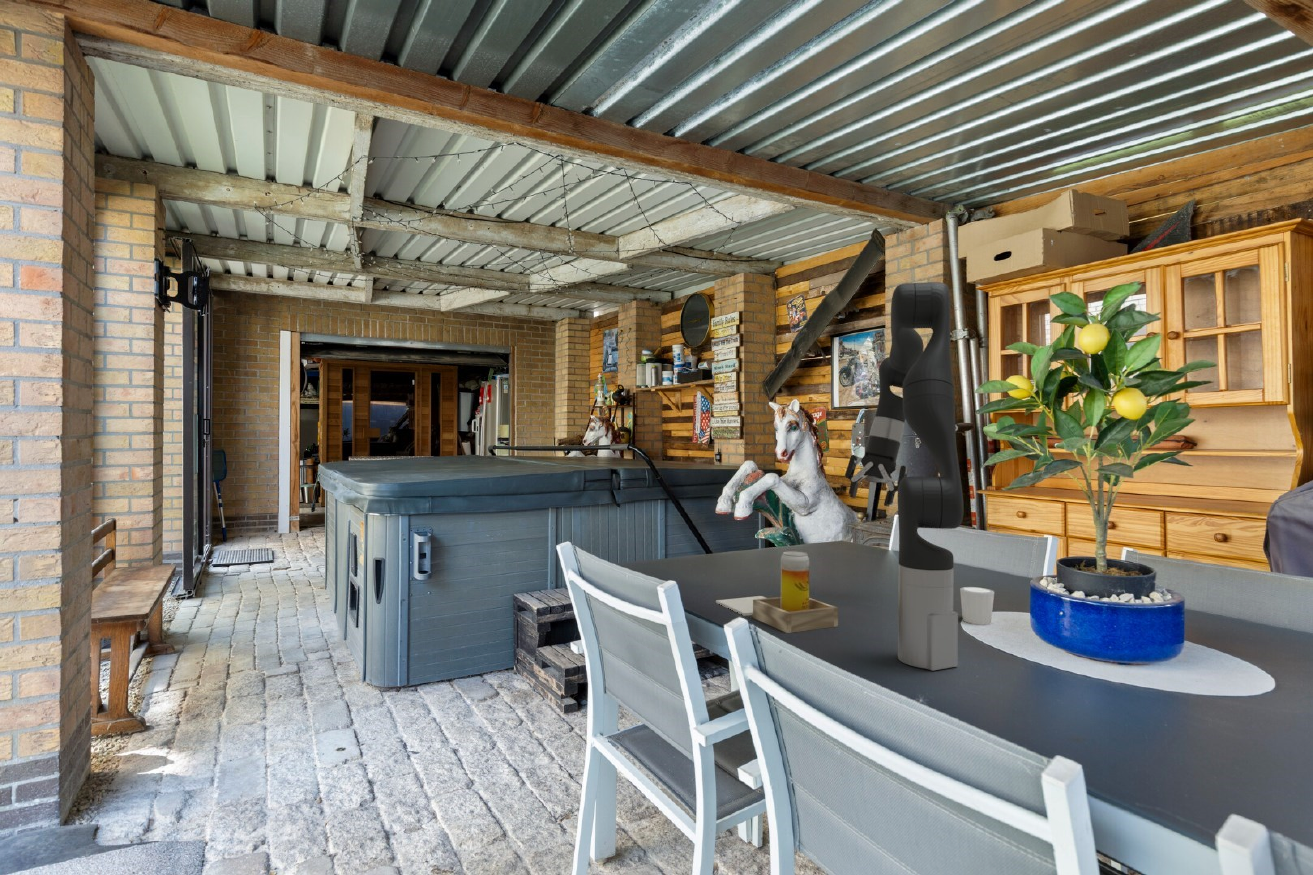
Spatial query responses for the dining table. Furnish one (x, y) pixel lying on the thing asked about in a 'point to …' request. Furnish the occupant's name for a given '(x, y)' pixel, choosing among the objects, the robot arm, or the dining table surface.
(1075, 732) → the dining table surface
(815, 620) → the crate
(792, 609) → the beer can
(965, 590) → the white cup
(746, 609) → the mat
